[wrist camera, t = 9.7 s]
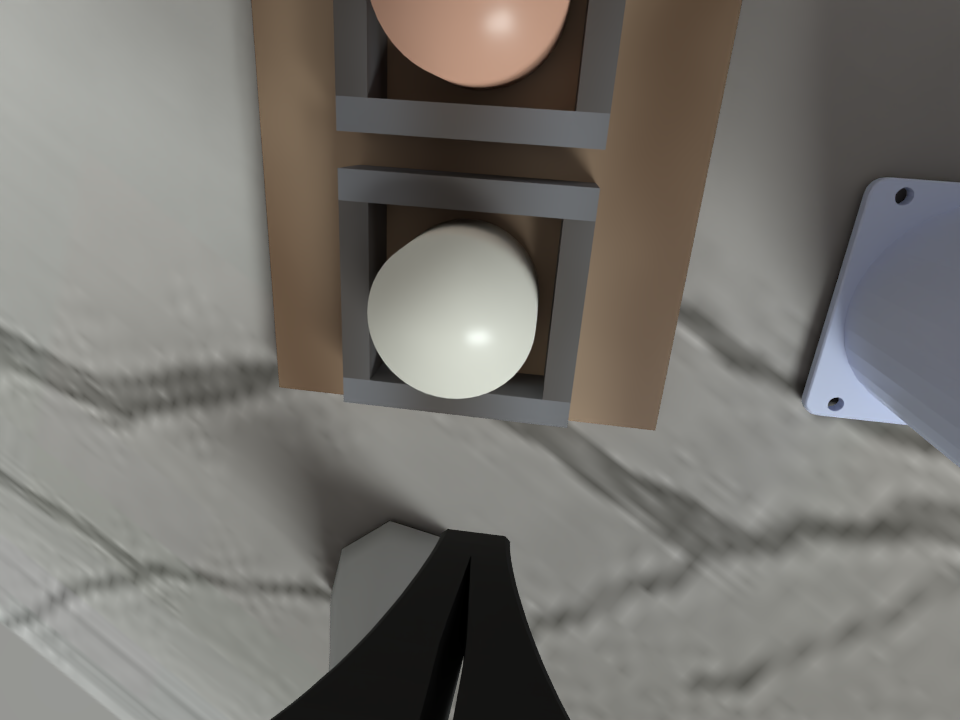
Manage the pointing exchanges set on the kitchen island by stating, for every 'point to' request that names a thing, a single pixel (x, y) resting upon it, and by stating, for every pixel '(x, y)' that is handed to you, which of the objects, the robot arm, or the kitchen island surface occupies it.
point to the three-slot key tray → (493, 193)
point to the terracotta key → (474, 37)
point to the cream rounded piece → (455, 309)
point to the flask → (373, 581)
